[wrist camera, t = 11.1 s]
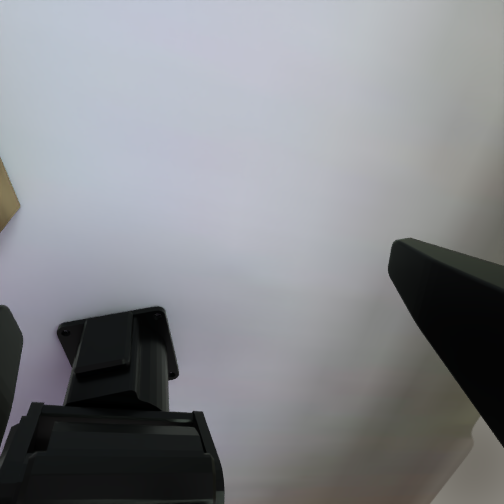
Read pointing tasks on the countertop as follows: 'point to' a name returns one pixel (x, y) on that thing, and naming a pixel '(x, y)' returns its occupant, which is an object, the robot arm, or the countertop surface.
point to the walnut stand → (6, 198)
